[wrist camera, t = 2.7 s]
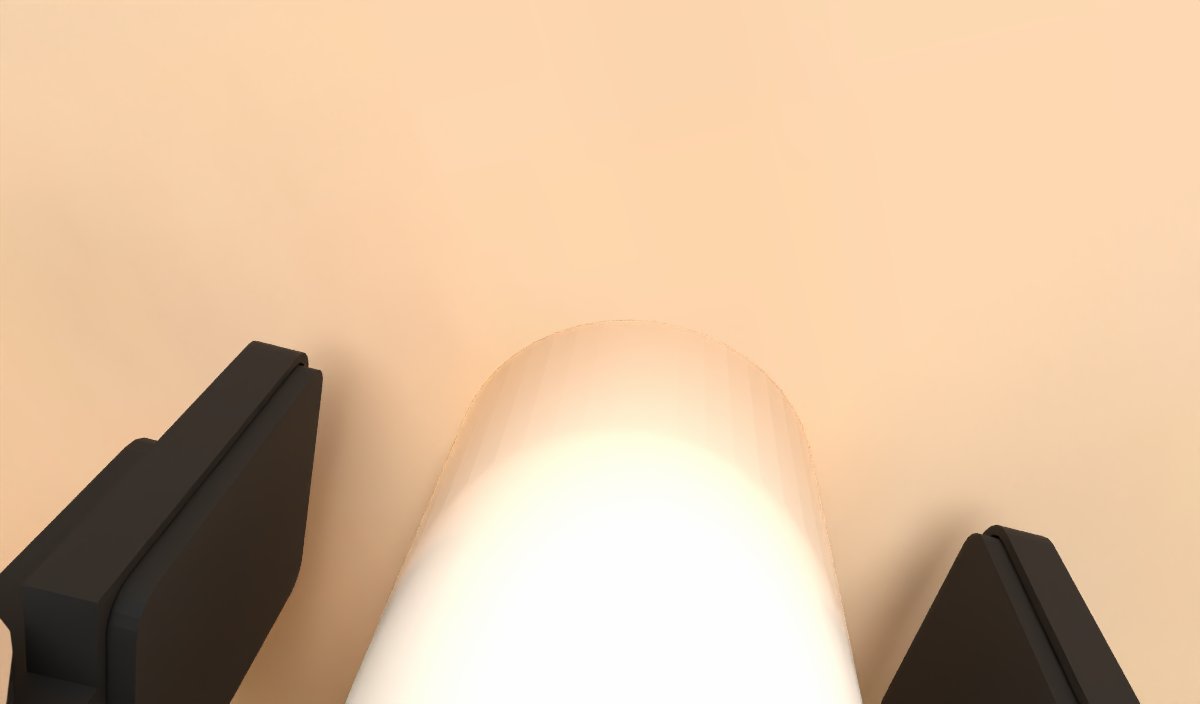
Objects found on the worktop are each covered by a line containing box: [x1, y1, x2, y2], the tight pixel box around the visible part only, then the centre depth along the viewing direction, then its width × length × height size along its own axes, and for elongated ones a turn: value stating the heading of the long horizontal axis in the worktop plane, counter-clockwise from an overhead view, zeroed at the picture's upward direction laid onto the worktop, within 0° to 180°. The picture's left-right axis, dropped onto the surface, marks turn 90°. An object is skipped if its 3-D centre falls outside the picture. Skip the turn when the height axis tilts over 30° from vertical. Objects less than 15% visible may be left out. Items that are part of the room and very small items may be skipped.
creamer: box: [345, 320, 863, 704], centre depth 9 cm, size 6×4×6 cm
